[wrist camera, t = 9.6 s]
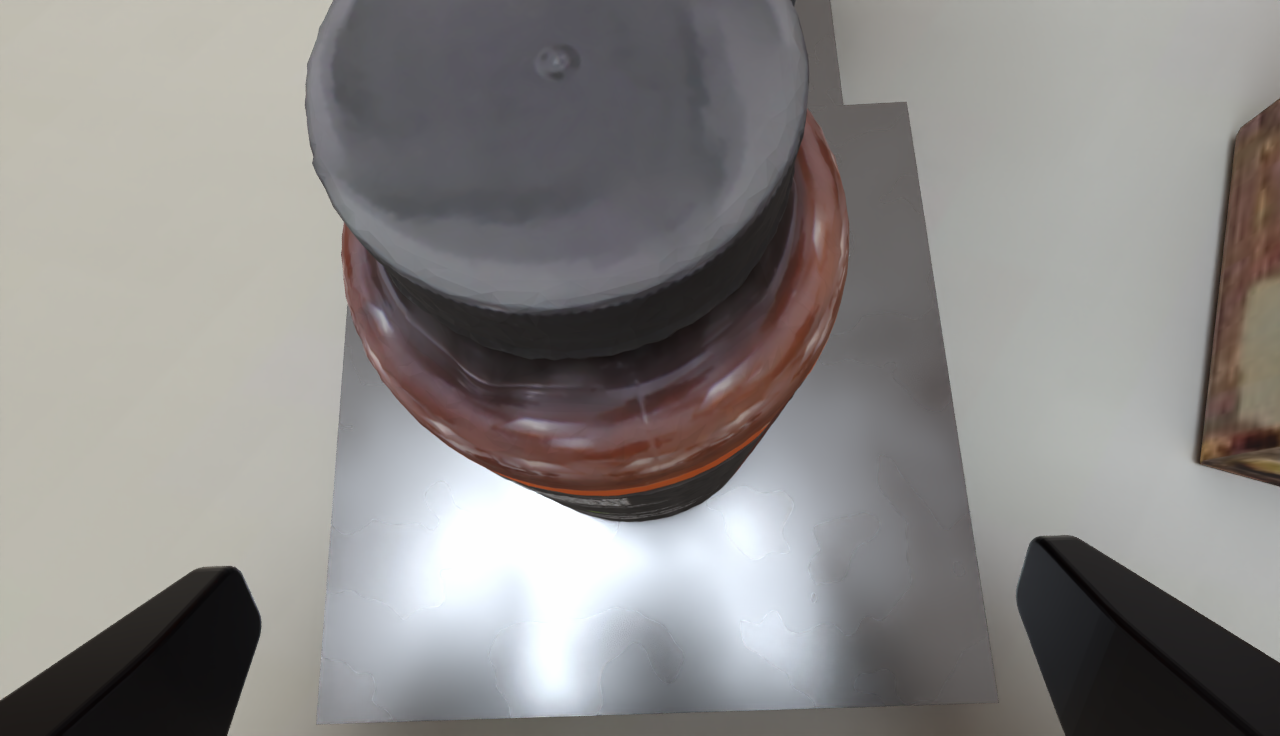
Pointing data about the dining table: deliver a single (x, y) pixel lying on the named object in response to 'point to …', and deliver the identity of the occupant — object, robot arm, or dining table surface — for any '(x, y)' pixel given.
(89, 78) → the dining table surface
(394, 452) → the arbor press
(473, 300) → the supplement bottle
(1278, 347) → the book
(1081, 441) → the dining table surface
